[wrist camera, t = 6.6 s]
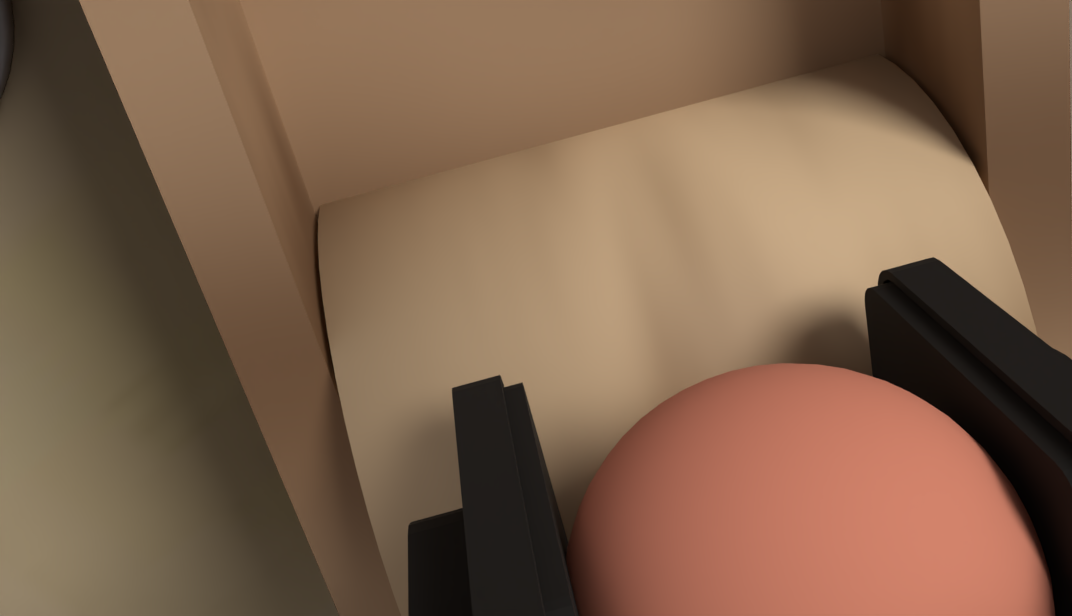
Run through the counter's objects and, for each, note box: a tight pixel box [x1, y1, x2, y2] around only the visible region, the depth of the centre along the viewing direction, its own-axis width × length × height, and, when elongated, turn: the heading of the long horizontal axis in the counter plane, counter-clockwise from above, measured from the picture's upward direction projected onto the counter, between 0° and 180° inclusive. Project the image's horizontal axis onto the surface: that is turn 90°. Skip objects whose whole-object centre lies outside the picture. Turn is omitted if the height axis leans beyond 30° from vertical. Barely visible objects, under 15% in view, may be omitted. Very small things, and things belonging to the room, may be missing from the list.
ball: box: [566, 363, 1055, 616], centre depth 9 cm, size 4×4×4 cm
